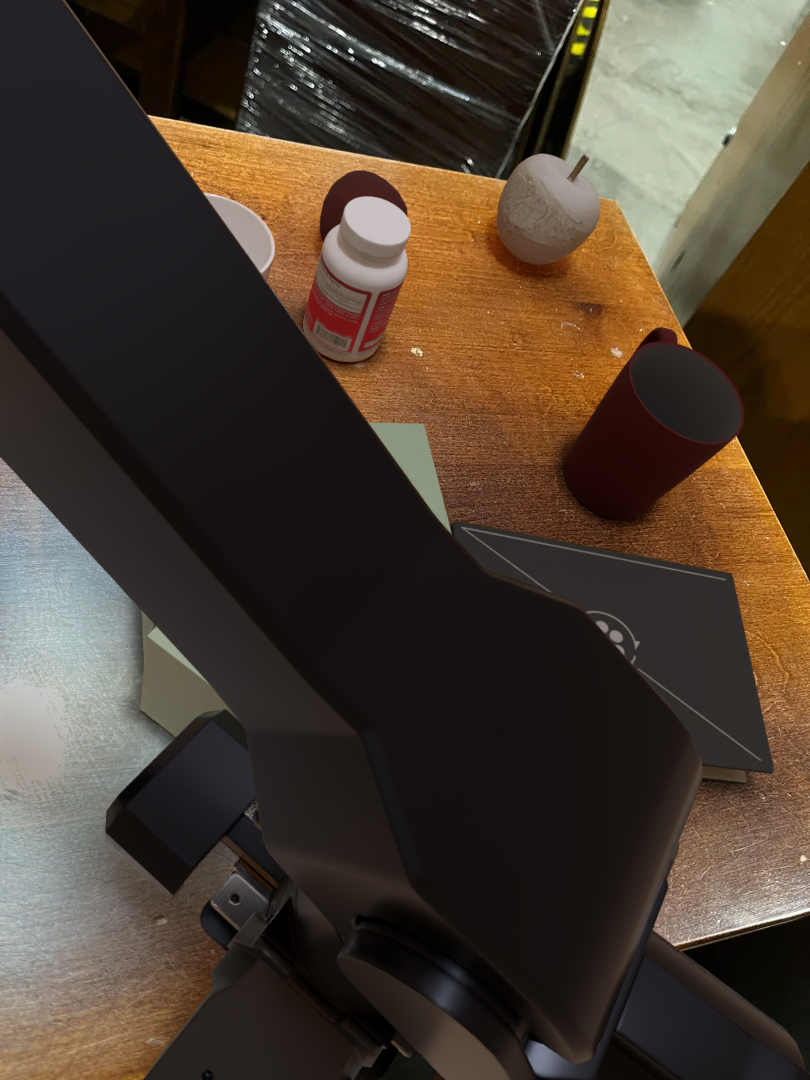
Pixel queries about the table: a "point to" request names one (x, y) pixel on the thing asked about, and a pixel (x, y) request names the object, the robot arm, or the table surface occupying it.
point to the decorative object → (547, 209)
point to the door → (174, 686)
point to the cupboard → (412, 458)
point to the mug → (652, 428)
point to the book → (654, 633)
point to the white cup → (247, 231)
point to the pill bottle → (357, 280)
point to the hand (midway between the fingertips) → (302, 948)
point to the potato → (355, 196)
